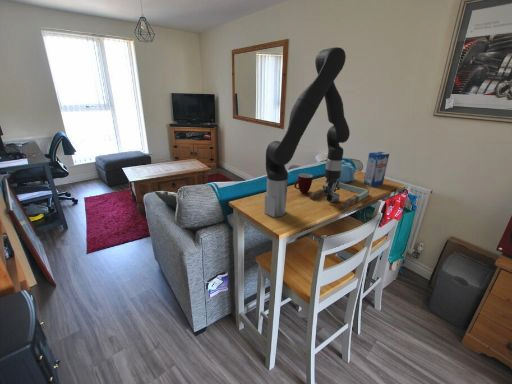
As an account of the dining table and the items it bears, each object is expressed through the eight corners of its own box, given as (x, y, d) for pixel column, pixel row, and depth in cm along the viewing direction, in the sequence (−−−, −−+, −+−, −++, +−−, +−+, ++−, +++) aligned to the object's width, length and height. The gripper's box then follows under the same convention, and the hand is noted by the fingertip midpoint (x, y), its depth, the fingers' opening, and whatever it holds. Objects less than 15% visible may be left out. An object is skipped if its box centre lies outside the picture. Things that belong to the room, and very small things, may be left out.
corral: (358, 201, 134) (359, 196, 133) (324, 191, 147) (324, 186, 146) (368, 195, 143) (369, 190, 142) (335, 186, 156) (335, 181, 155)
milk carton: (374, 182, 165) (380, 151, 157) (382, 185, 160) (389, 153, 152) (363, 183, 161) (369, 152, 154) (371, 187, 156) (377, 155, 148)
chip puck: (335, 204, 130) (336, 197, 129) (324, 200, 134) (325, 194, 133) (340, 200, 135) (341, 194, 133) (330, 197, 138) (331, 191, 137)
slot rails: (343, 210, 124) (344, 204, 122) (310, 199, 136) (310, 194, 135) (357, 201, 134) (358, 196, 133) (325, 191, 146) (325, 186, 145)
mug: (299, 196, 139) (301, 179, 135) (290, 191, 145) (291, 175, 141) (313, 193, 144) (315, 176, 140) (304, 188, 150) (306, 172, 147)
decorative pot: (327, 176, 175) (329, 156, 170) (351, 178, 171) (354, 158, 166) (327, 183, 160) (329, 162, 155) (354, 186, 157) (357, 164, 152)
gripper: (333, 172, 117) (329, 206, 124) (346, 167, 126) (341, 199, 133) (319, 169, 122) (315, 201, 128) (333, 164, 131) (328, 195, 137)
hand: (328, 200), depth 131 cm, fingers closed
